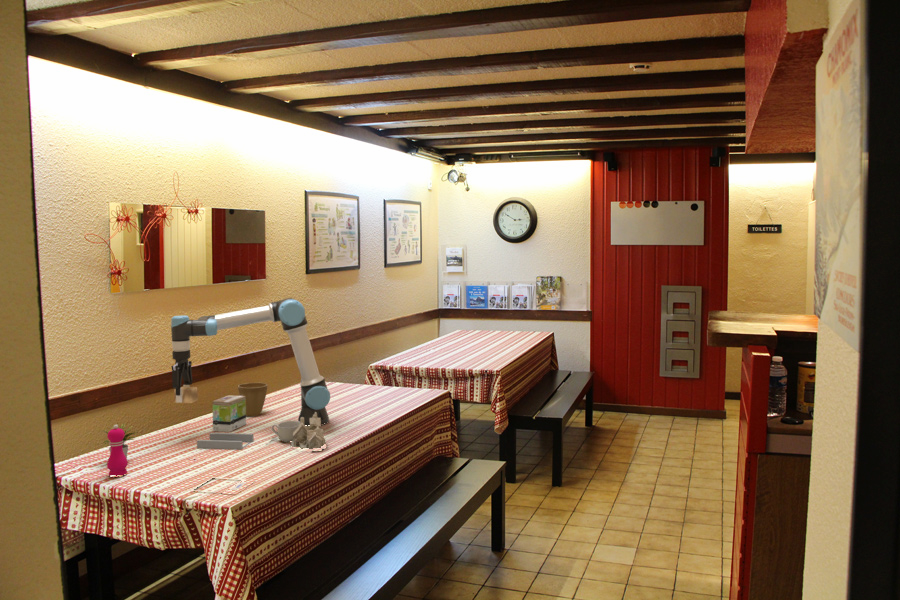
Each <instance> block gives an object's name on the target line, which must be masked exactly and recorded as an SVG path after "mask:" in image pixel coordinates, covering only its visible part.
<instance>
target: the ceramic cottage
mask: <svg viewBox="0 0 900 600" xmlns="http://www.w3.org/2000/svg"><path fill="white" fill-rule="evenodd" d="M321 426H322V425H321V418H318V417H317V412H315V414H314V415H313V417H312V418H310V426H305V425H304V417H301V418H300V425H299V426H298V428H297V429H296V430H295V431H294V432H293V441H292V442H290V447H291V446H292V447H300V448H301V449H303V448H309V449H313V448H321V446H323V445H324V444H326V443H327V441H326V439H325V434H324V428H322V427H321ZM327 444H328V443H327Z"/></svg>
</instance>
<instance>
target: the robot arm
mask: <svg viewBox="0 0 900 600" xmlns="http://www.w3.org/2000/svg"><path fill="white" fill-rule="evenodd" d="M306 316H307V315H306V310H305V307H304V305H303V303H301V302H300V301H299V300H297V299H294V298H291V297H290V298H283V299H280V300H277V301H273V302H269V303H268V305H262V306H258V307H257V306H255V307H252V308H251V307H250V308H246V309H240V310H235V311H228V312H224V313H219V314H214V315H213V314H212V315H203V316H200V317H199V318H198V319H190V317H189V316H188V315H175V316H172V317H171V325H170V328H171V332H170V334H171V347H172V350H173V351H172V352H171V353H172V354H171V355H172V359H173V360H175V362H174V365H171V373H172V374H171V377H172V378H171V379H172V380H171V381H172V385H171V386H172V389H174V390H175V389H176V402H177V403H176V404H183V403H182V402H183V398H182V388H181V387H191V386H190V385H192V384H193V371H192V364H193V362H192V360H189V359H191V342H190V341H191V340H190V339H191V337H210V336H212V337H213V336H217V335H218V331H222V330H226V329H232V328H238V327H244V326H250V325H253V324H259V323H266V322H269V321H271V322H273V323H276V322H280V323H281V327H282V330H283V331H284V332H285V333H287V335H288V338H289V342H290V344H291V348H292V351H293V354H294V357H295V361H296V364H297V367H298V371H299V374H300V378H301V379H300V396H301V398H300V400H301V401H300V402H301V405H300V406H301V407H300V408H301V409H300V412H299V416H298V419H297V421H299V422H300V418H301V417H304V425H307V426H308V425H310V418H312V417H313V415H314V414H315V412H317V417H318V418H321V424H324V423H327V422H328V423H330V418H329V413H328V411H327V408H326V407H327V406H328V404H329V403H330V400H331V392H330V390H329V389H328V387H327V383H326V380H325V377H324V376H323V375H321V374H320V371H319V368H318V364H317V361H316V357H315V354H314V350H313V347H312V344H311V341H310V337H309V334H308V331H307V326H308V321H307V317H306ZM182 381H183V383H184V384H182ZM182 385H183V386H182ZM328 423H327V424H328ZM324 425H325V424H324Z"/></svg>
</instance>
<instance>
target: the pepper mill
mask: <svg viewBox="0 0 900 600" xmlns="http://www.w3.org/2000/svg"><path fill="white" fill-rule="evenodd" d="M112 428H113V429H110V430H108V431H109V432H108V431H107V432H108V434H107V436H106V438H107V437H108V438H107V440H108V441H110V442H109V443H108V445H109V447H111V454H110V453H109V454H110V455H109V457H108V459H107V463H106V468H107V469H108V476H109V475H116V476H117V475H124V474H126V473H128V469H126V468H127V466H128V464H129V463H128V461H129V460H128V457H127V458H126V456H125V455H124V452H123V448H122V446H123V444H125V442H124V443H123V441H124V440H123V438H124V436H125V435H126V433H124V432H125V430H124V429H123V430H122V429H120V427H119V424H118V425H117V423H116V424H114V425H113V426H112Z"/></svg>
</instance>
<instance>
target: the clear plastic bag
mask: <svg viewBox="0 0 900 600" xmlns="http://www.w3.org/2000/svg"><path fill="white" fill-rule="evenodd" d="M212 478H215V479H214V480H216V479H228V480H227V481H231V480H241V481H242V482H241V481H237V483H235V484H234V485H232V486H230V487H229V488H228V489H230V490H228V489H226V490H225V491H227V490H228V491H232V490H237V489H239V488H240V487H242V486H243V485H244V484H246V482H244V481H246V480H247V479H244V478H243V479H241V478H227V477H215V476H213V477H211V478H209V479H207V480H206V481H204V482H202V483H201V484H199V485H197V486H196V487H194V488H195V490H194V488H192V489H190V490H189V492H190V491H198V492H202V491H203V490H197V489H198V488H199V487H201V486H202V484H203V485H205V484H206V483H207V481H208V482H209V481H211V480H213V479H212ZM240 482H241V483H240ZM235 485H236V486H235ZM197 487H198V488H197Z"/></svg>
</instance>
